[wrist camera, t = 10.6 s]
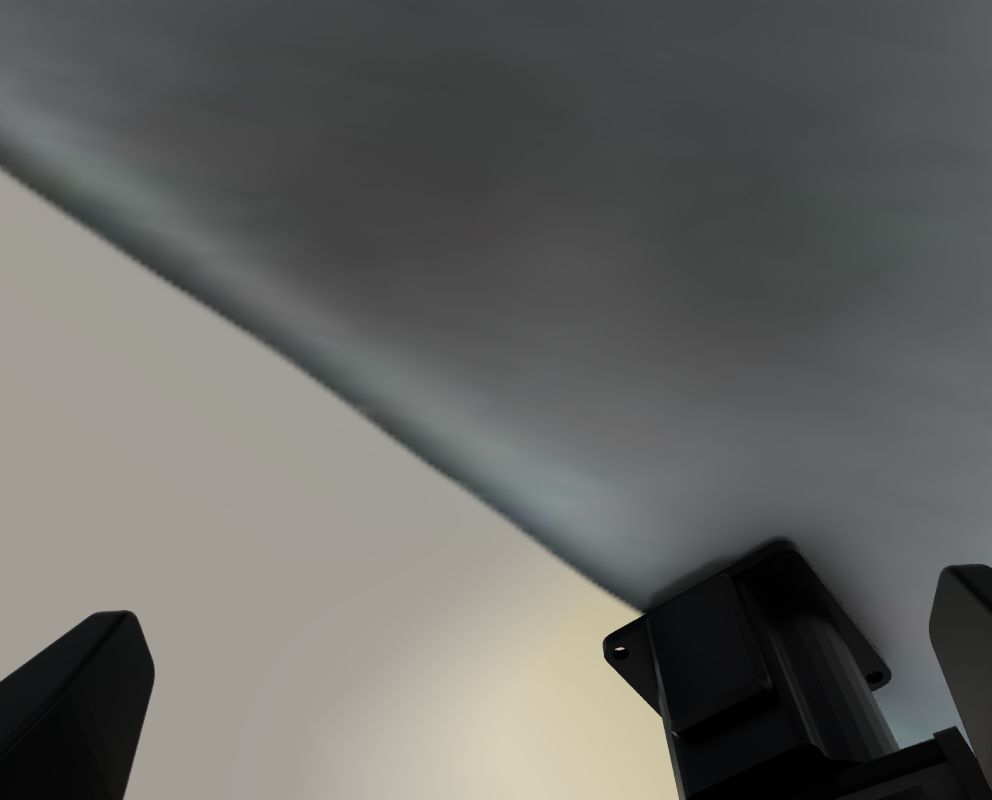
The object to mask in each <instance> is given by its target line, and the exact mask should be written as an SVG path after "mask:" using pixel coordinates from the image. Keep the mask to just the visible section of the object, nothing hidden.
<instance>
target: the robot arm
mask: <svg viewBox="0 0 992 800" xmlns="http://www.w3.org/2000/svg"><path fill="white" fill-rule="evenodd" d="M784 556H788V558H787V559H786V560H784V561H781V562H778V561H777V560H778V559H779V558H781V557H784ZM929 633H930V639H931V643H932V646H933V649H934V651H935V654H936V656H937V659H938V661H939V664H940V666H941V669H942V672H943V674H944V677H945V679H946V682H947V684H948V687H949V689H950V692H951V694H952V697H953V700H954V702H955V705H956V707H957V710H958V712H959V715H960V717H961V720H962V722H963V725H964V728H965V730H966V733H967V735H968V738H969V740H970V743H971V745H972V748H973V750H974V753H975V755H976V757H975V755H974V754H973V752H972V750H971V749H970V747H969V746H968V744H967V743H966V741H965V740H964V738H963V736H962V735H961V733H960V732H959V730H958V729H957V727H956V726H954V727H951V728H948V729H945V730H942V731H939V732H936V733H934V734H933V736H934V738H933V739H930V740H927V741H924V742H921V743H918V744H915V745H912V746H910V747H907V748H904V749H901V750H900V748H899V746H898V744H897V742H896V740H895V738H894V736H893V734H892V732H891V730H890V728H889V726H888V724H887V722H886V720H885V718H884V716H883V714H882V712H881V710H880V708H879V706H878V704H877V702H876V700H875V698H874V696H873V694H872V692H873V691H875V690H877V689H879V688H881V687H883V686H884V685H886V684H887V683H888V682H889V681H890V679H891V675H892V674H891V671H890V669H889V667H888V665H887V663H886V662H885V660H884V659H883V657H882V656H881V655H880V653H879V652H878V651H877V650H876V648H875V647H874V646H873V644H872V643H871V642H870V640H869V639H868V638H867V637H866V635H865V634H864V633H863V631H862V630H861V629H860V628H859V626H858V625H857V624H856V622H855V621H854V620H853V618H852V617H851V616H850V615H849V613H848V612H847V611H846V609H845V608H844V607H843V606H842V604H841V603H840V602H839V600H838V599H837V598H836V596H835V595H834V594H833V593H832V591H831V590H830V589H829V587H828V586H827V585H826V584H825V582H824V581H823V580H822V578H821V577H820V576H819V574H818V573H817V572H816V571H815V569H814V568H813V567H812V565H811V564H810V563H809V562H808V560H807V559H806V558H805V556H804V555H803V554H802V552H801V551H800V550H799V549H798V547H797V546H796V545H795V544H794V543H792V542H790V541H786V540H782V541H776V542H774V543H771V544H769V545H768V546H766V547H764V548H762V549H761V550H759V551H757V552H755V553H753V554H752V555H750V556H748V557H746V558H744V559H743V560H741V561H739V562H737V563H736V564H734V565H732V566H730V567H728V568H727V569H725V570H723V571H721V572H720V573H718V574H716V575H714V576H712V577H711V578H709V579H707V580H705V581H704V582H702V583H700V584H698V585H696V586H695V587H693V588H691V589H689V590H687V591H686V592H684V593H682V594H680V595H679V596H677V597H675V598H673V599H671V600H670V601H668V602H666V603H664V604H663V605H661V606H659V607H657V608H655V609H654V610H652V611H650V612H648V613H647V614H645V615H643V616H641V617H639V618H638V619H636V620H634V621H632V622H630V623H629V624H627V625H625V626H623V627H622V628H620V629H618V630H616V631H614V632H613V633H611V634H609V635H608V636H607V637H606V638H605V639H604V641H603V652H604V658H605V659H606V661H607V662H608V663H609V664H610V665H611V666H612V667H613V668H614V669H615V670H616V671H617V672H618V673H619V674H620V675H621V676H622V677H623V678H624V679H625V680H626V681H627V682H628V684H629V685H630V686H632V687H633V689H635V691H636V692H637V693H638V694H639V695H640V696H641V697H642V698H643V699H644V700H645V701H646V702H647V703H648V704H649V705H650V706H651V707H652V708H653V709H654V710H655V711H656V712H657V713H658V714H659V715H660V716H661V717H662V720H663V725H664V729H665V734H666V739H667V744H668V748H669V753H670V758H671V763H672V767H673V772H674V777H675V781H676V786H677V791H678V796H679V800H992V568H991V567H989V566H987V565H983V564H966V565H951V566H948V567H945V568H944V569H943V570H942V572H941V573H940V576H939V580H938V584H937V589H936V593H935V598H934V602H933V607H932V612H931V616H930V621H929ZM620 647H622V648H625V649H623V650H615V649H616V648H620ZM874 671H875V672H874ZM871 672H873V673H871ZM869 673H870V674H869ZM154 678H155V669H154V663H153V659H152V656H151V654H150V651H149V648H148V645H147V642H146V640H145V637H144V634H143V631H142V629H141V626H140V623H139V621H138V619H137V617H136V615H135V614H134V613H133V612H131V611H127V610H121V611H103V612H97V613H94V614H92V615H90V616H89V617H87V618H86V619H85V620H83V621H82V622H81V623H79V624H78V625H77V626H75V627H74V628H72V629H71V630H70V631H68V632H67V633H66V634H64V635H63V636H62V637H60V638H59V639H58V640H56V641H55V642H53V643H52V644H51V645H49V646H48V647H47V648H45V649H44V650H42V651H41V652H40V653H38V654H37V655H36V656H34V657H33V658H32V659H30V660H29V661H28V662H26V663H25V664H24V665H22V666H21V667H19V668H18V669H17V670H15V671H14V672H12V673H11V674H10V675H8V676H7V677H6V678H4V679H3V680H2V681H0V800H123V799H124V795H125V792H126V788H127V785H128V781H129V777H130V773H131V769H132V766H133V762H134V758H135V754H136V750H137V746H138V743H139V738H140V735H141V731H142V727H143V723H144V720H145V716H146V711H147V708H148V704H149V700H150V697H151V693H152V689H153V685H154Z"/></svg>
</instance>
